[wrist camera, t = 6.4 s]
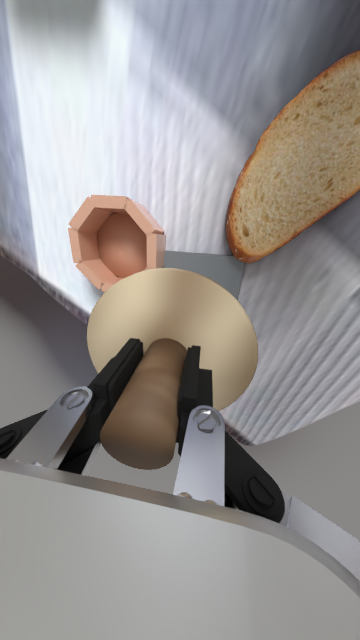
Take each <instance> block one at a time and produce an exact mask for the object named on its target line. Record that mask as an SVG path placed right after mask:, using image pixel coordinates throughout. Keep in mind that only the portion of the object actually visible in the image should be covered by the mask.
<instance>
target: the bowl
mask: <svg viewBox="0 0 360 640" xmlns="http://www.w3.org/2000/svg"><path fill="white" fill-rule="evenodd" d="M69 225H70V226H71V227H72V228H68V231H69V237H70V243H71V249H72V256H73V262H74V263H78V264H77V265H76V267H77V268H78V269H79V270H80V271H81V272H82V273H83V274H84V275H85V276H86V277H87V278H88V279H89V281H90V282H91V283H92V284H93V285H94V286H95V287H96V288H97V289H98V290H99V289H101V290H102V291H103V292H106V291H107V290H108V289H109V288H110V287H111V286H113V285H114V284H116V283H117V282H119V281H120V280H122V279H124V278H126V277H128V276H131V275H133V274H135V273H138V272H141V271H145V270H148V269H155V268H162V267H163V266H164V251H165V242H166V235H162V234H163V233H164V230H163V229H162V228H161V227H160V226H159V224H158V223H157V222H156V221H155V219H154V218H153V217H152V216H151V214H150V213H149V212H148V211H147V209H146V208H145V207H144V206H142V205H140V204H139V203H137V202H135V201H133V200H131V199H130V198H128V197H125V196H103V195H91V198H90V197H87V198H86V200H85V201H84V203H83V204H82V206H81V207H80V208H79V210H78V211H77V213H76V214H75V216H74V217H73V218H72V220H71V221H70V223H69Z"/></svg>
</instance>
